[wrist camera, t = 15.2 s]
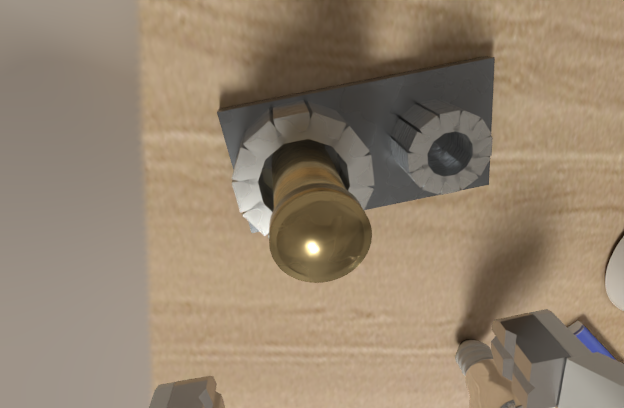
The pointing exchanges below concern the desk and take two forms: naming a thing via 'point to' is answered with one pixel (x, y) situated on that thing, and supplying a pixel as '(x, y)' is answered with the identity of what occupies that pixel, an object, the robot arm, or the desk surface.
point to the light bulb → (484, 377)
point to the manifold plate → (372, 136)
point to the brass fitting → (314, 216)
